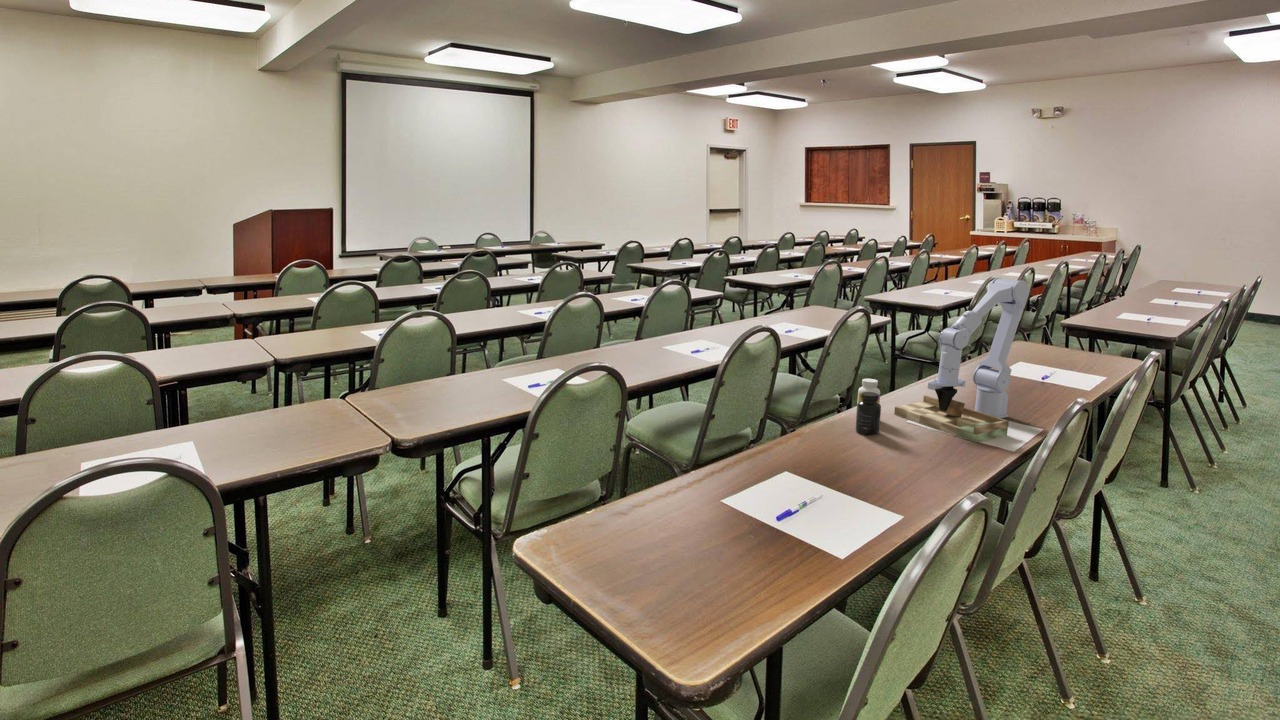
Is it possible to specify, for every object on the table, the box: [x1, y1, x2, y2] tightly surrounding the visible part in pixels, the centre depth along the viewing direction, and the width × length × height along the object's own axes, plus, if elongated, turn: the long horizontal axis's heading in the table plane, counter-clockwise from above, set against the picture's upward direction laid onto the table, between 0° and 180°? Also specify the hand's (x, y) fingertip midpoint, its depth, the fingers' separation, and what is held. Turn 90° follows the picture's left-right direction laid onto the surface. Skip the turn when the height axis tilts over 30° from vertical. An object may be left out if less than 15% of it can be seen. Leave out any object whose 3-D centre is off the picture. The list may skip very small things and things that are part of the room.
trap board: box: [893, 395, 1010, 444], centre depth 219 cm, size 14×30×4 cm, turn 28°
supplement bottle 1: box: [856, 378, 881, 414], centre depth 222 cm, size 7×7×13 cm
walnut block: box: [940, 399, 966, 417], centre depth 219 cm, size 4×4×4 cm
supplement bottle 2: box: [855, 392, 882, 436], centre depth 211 cm, size 7×7×12 cm
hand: (943, 410), depth 219 cm, fingers closed, pressing on walnut block
